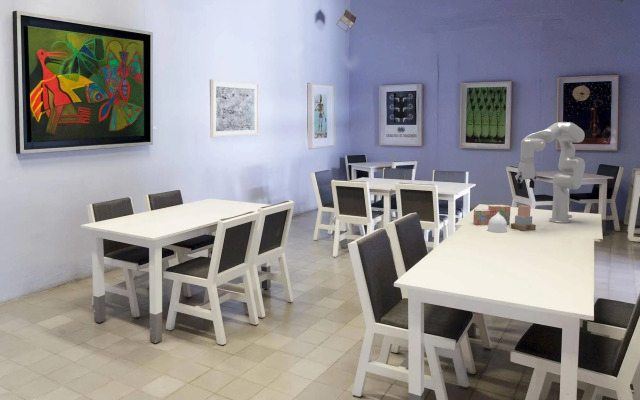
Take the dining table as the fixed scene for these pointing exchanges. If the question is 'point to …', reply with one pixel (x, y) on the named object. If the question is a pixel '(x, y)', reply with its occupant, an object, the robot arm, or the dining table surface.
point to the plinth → (523, 227)
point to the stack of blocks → (491, 214)
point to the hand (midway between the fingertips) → (525, 188)
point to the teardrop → (497, 224)
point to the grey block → (523, 220)
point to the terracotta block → (524, 211)
